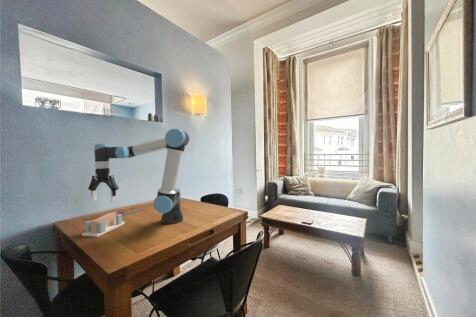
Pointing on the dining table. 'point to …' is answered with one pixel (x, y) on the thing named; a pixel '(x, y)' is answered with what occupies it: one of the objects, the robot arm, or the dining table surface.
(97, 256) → the dining table surface
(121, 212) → the squeegee
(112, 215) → the pink rectangular block
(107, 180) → the robot arm
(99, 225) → the rack
